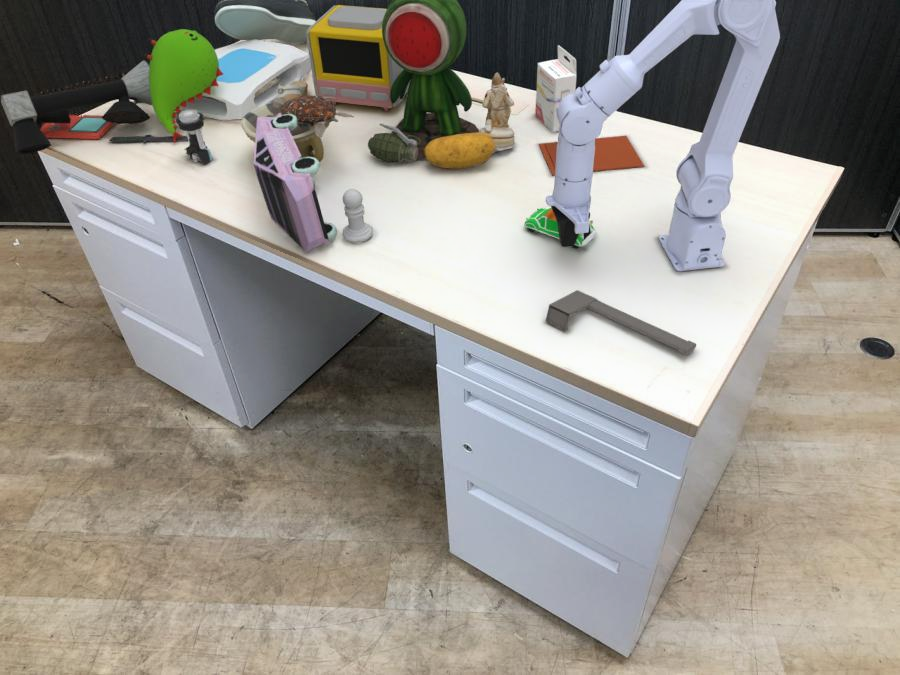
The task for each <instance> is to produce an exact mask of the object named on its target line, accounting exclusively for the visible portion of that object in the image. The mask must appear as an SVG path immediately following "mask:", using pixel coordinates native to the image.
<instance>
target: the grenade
mask: <svg viewBox="0 0 900 675" xmlns="http://www.w3.org/2000/svg"><path fill="white" fill-rule="evenodd" d="M378 125H379V126H380V127H383V128H385V129H388V130H389V131H391V132H379V133H375V134H374V135H373V136H372V137H370V139H368V142H367V147H368V150H369V153H370V155H372V156H373V157H374V158H376V159H377V160H379V161H380V162H383V163H389V164H397V163H401V162H402V161H403V160H405V159H406V160H408V161H411V162H415V161H417V160H416V159H417V156H418V148H417V145H418V144H420V143H421V140H420V139H419V138H418V137H416V136H414V135H408V136H407V137H406V136H405V135H404V134H403V133H402V132H401V131H400V130H399V129H398V128H396V126H391V125H388V124H384V123H381V122H380V123H379V124H378ZM392 131H394V132H396V133H397V134H398V136H397V135H394V134H391V133H392ZM409 136H413V137H416V138H418V139H419V141H420V143H417V142H416V141H415V140H413V139H408V137H409ZM406 143H407V144H408V145H407V144H406Z"/></svg>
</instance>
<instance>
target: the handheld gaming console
mask: <svg viewBox="0 0 900 675" xmlns="http://www.w3.org/2000/svg"><path fill="white" fill-rule="evenodd" d="M102 116H103V115H98V114H97V115H94V114H92V115H90V114H83V115H82V114H69V117H70V124H68V123H42V127H41V129H40V130H41V131H42V132H43V134H44V135H45V136H46V138H50V139H51V138H52V139H79V140H80V139H82V140H83V139H85V140H100V139H101V138H102V137H103V136H104V135H105V134H106V133H107V132H108V131H109V130H110V129H111V128H112V127H114V125H116V123H112V122H108V121H105V120H103V119H102Z"/></svg>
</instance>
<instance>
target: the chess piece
mask: <svg viewBox="0 0 900 675" xmlns="http://www.w3.org/2000/svg"><path fill="white" fill-rule="evenodd" d="M363 199H364V198H363V194H362V193H361V192H360V191H359V190H358V189H356V188H349V189H347V190H345V192H344V193H343V195H342V204H343V205H344V215H345V216H346V218H347V223H348V224H347V225H346V226H345V227H343V229H342V232H341V233H342V237H343V239H344V240H345V241H346V242H351V243H363V242H365V241H368V240H369V239H370V238H372V236H373V235H374V229H373V227H372V225H370V224H369V223H367V222H365V219H364V215H365V213H366V212H365V206H364V204H363Z"/></svg>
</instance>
